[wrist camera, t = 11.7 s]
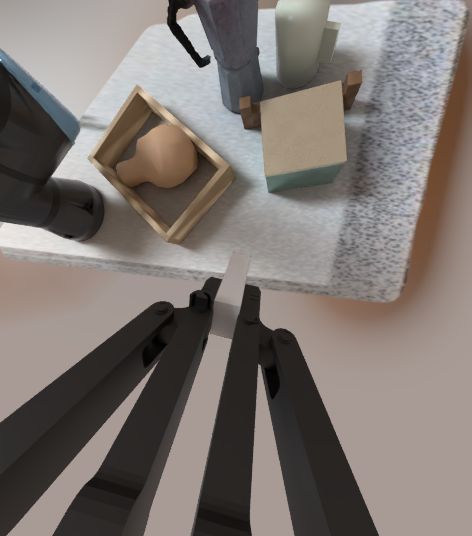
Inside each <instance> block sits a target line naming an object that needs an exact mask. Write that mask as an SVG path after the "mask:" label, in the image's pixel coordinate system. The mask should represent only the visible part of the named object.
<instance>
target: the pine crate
mask: <svg viewBox="0 0 472 536" xmlns="http://www.w3.org/2000/svg"><path fill="white" fill-rule="evenodd" d="M152 112H154V113H155V114H156V115H158V116H159V117H160V118H161V119H162V120H163V121H164V122H165V123H166V124H168V125H177V126H178V127H180V128H181V129H182V130H183V131H184V132H185V133H186V134H187V135H188V137H189V138H190V140H191V142H192V143H193V145H194V147H195V149H196V150H197V151H198V152H199V153H200V154H201V155H202V156H203V157H205V158H206V159H207V160H208V161H209V162H210V163H211V164H212V165H214V166H215V167H216V168H217V169H218V171H217V172H216V173H215V175H214V176H213V177H212V178H211V180H210V181H209V182H208V183H207V184H206V186H205V187H204V188H203V189H202V190H201V192H200V193H199V194H198V195H197V197H196V198H195V199H194V200H193V201H192V203H191V204H190V205H189V206H188V208H187V209H186V210H185V211H184V212H183V214H182V215H181V216H180V217H179V218H178V220H177V221H176V222H175V223H174V225H173V226H172V227H171V228H169V226H168V225H167V224H166V223H165V222H164V221H163V220H162V219H161V218H160V217H159V216H158V215H157V214H156V213H155V212H154V211H153V210H152V209H151V208H150V207H149V206H148V205H147V204H146V203H145V202H144V201H143V200H142V199H141V198H140V197H139V196H138V195H137V194H136V193H135V192H134V190H133V189H132V188H131V187H129V186H127V185H126V184H124V183H122V182H121V181H120V179H119V176H118V174H117V173H116V172H115V171H114V170H113V169H112V168H113V167H114V165H115V164H116V163H117V161H118V160H119V158H120V157H121V155H122V154H123V153H124V151H125V150H126V148H127V147H128V146H129V144H130V143H131V141H132V140H133V138H134V137H135V136H136V134H137V133H138V131H139V130H140V129H141V127H142V126H143V124H144V123H145V121H146V120H147V119H148V117H149V116H150V114H151V113H152ZM87 159H88V160H89V161H90V162H91V163H92V164H93V165H94V166H95V167H96V168H97V169H98V170H99V172H100V173H101V174H102V175H103V176H104V177H105V178H106V179H107V180H108V181H109V182H110V183H111V184H112V185H113V186H114V187H115V188H116V189H117V190H118V191H119V193H120V194H121V195H122V196H123V197H124V198H125V199H126V200H127V201H128V202H129V203H130V204H131V205H132V206H133V207H134V208H135V209H136V210H137V211H138V213H139V214H140V215H141V216H142V217H143V218H144V219H145V220H146V221H147V222H148V223H149V224H150V225H151V226H152V227H153V228H154V229H155V230H156V231H157V233H158V234H159V235H160V236H161V237H162V238H163V239H164V240H165V241H166V242H170V243H174V244H180V243H181V242H182V241H183V239H184V238H185V237H186V236H187V235H188V234H189V232H190V231H191V230H192V229H193V228H194V226H195V225H196V224H197V223H198V222H199V221H200V219H201V218H202V217H203V216H204V215H205V214H206V212H207V211H208V210H209V209H210V208H211V206H212V205H213V204H214V203H215V202H216V201H217V199H218V198H219V197H220V196H221V195H222V193H223V192H224V191H225V190H226V189H227V188H228V186H229V185H230V184H231V183H232V182H233V180H234V179H235V178H236V177H235V175H234V173H233V171H232V169H231V167H230V165H229V164H228V163H227V162H226V161H224V160H223V159H222V158H221V157H220V156H219V155H217V154H216V153H215V152H214V151H213V150H212V149H211V148H209V147H208V146H207V145H206V144H205V143H204V142H203V141H201V140H200V139H199V138H198V137H197V136H196V135H195V134H193V133H192V132H191V131H190V130H189V129H188V128H187V127H185V126H184V125H183V124H182V123H181V122H180V121H179V120H177V119H176V118H175V117H174V116H173V115H172V114H171V113H169V112H168V111H167V110H166V109H165V108H164V107H163V106H161V105H160V104H159V103H158V102H157V101H156V100H155V99H153V98H152V97H151V96H150V95H149V94H148V93H146V92H145V91H144V90H143V89H142V88H141V87H140V86H138V85H136V86H135V88H134V89H133V91H132V92H131V94H130V95H129V97H128V98H127V100H126V101H125V103H124V104H123V106H122V107H121V109H120V110H119V112H118V113H117V115H116V116H115V118H114V119H113V121H112V122H111V124H110V125H109V127H108V128H107V130H106V131H105V133H104V134H103V136H102V137H101V139H100V140H99V142H98V143H97V145H96V146H95V148H94V149H93V151H92V152H91V153H90V155H89V156H88V158H87Z"/></svg>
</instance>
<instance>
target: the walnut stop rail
mask: <svg viewBox="0 0 472 536" xmlns="http://www.w3.org/2000/svg"><path fill="white" fill-rule="evenodd" d="M361 83H362V70H360V71H355V72H351V73H348V74H347V77H346V80H345V83H343V84H342V96H343V110H349V109H350V108H351V106H352V104H353V102H354V99H355V97H356V95H357V93H358V90H359V88H360V86H361ZM239 105H240V113H241V117H242V120H243V124H244V128H245V129H249V128H254V127H259V126H261V111H260V102H257V103H251V98H250V96H247V97H242V98H239Z"/></svg>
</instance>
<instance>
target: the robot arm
mask: <svg viewBox="0 0 472 536" xmlns="http://www.w3.org/2000/svg"><path fill="white" fill-rule="evenodd" d="M79 132H80V123H79V121H78V120H77V118H76V117H75V116H74V115H73V114H72V113H71V112H70V111H69V110H68V109H67V108H66V107H65V106H64V105H63V104H62V103H61V102H59V101H58V100H57V99H56V98H55V97H54V96H53V95H52V94H51V93H50V92H49V91H48V90H46V89H45V88H44V87H43V86H42V85H41V84H40V83H39V82H38V81H37V80H35V79H34V78H33V77H32V76H31V75H30V74H29V73H28V72H27V71H26V70H24V69H23V68H22V67H21V66H20V65H19V64H18V63H17V62H16V61H14V60H13V59H12V58H11V57H10V56H9V55H7V54H6V53H5V52H4V51H3V50H1V49H0V222H6V223H13V224H19V225H25V226H32V227H38V228H42V229H45V230H47V231H49V232H51V233H54V234H56V235H58V236H61V237H63V238H65V239H69V240H76V241H83V240H87V239H89V238H90V237H92V236H93V235H94V234H95V233H96V232H97V230H98V229H99V227H100V225H101V223H102V219H103V212H104V209H103V202H102V199H101V196H100V194H99V193H98V191H97V190H96V189H95V188H94V187H92V186H91V185H88V184H86V183H84V182H81V181H77V180H70V179H62V178H53V177H51V176H52V174H53V173H54V172H55V170H56V169H57V167H58V166H59V164H60V163H61V161H62V160H63V159H64V157H65V156H66V154H67V153H68V151H69V150H70V148H71V147H72V146H73V145H74V144H75V142H74V141H75V139H76V137H77V136H78V134H79ZM250 257H251V256H250V255H246V254H241V253H237V252H233V255H232V257H231V260H230V262H229V265H228V267H227V270H226V272H225V275H224V277H223V279H219V278H214V277H210V278H209V279H207V280H206V282H205V284H204V286H203V288H202V289H201V290H197V291H194V292H192V293H191V294H190V301H189V307H186V308H174V307H173V305H172V304H171V303H170V302H166V301H160V302H157V303H154V304H152V305H151V306H150V307H148V308H147V309H146V310H144V311H143V312H142V313H141V314H140V315H138V316H137V317H136V318H135V319H133V320H132V321H130V322H129V323H128V324H126V325H125V326H124V327H123V328H121V329H120V330H119V331H117V332H116V333H115V334H114V335H112V336H111V337H110V338H108V339H107V340H106V341H105V342H103V343H102V344H101V345H99V346H98V347H97V348H96V349H95V350H93V351H92V352H91V353H89V354H88V355H87V356H85V357H84V358H83V359H82V360H80V361H79V362H78V363H76V364H75V365H74V366H73V367H71V368H70V369H69V370H68V371H66V372H65V373H64V374H62V375H61V376H60V377H59V378H57V379H56V380H54V381H53V382H52V383H51V384H49V385H48V386H47V387H45V388H44V389H43V390H42V391H41V392H39V393H38V394H37V395H35V396H34V397H33V398H31V399H30V400H29V401H28V402H26V403H25V404H24V405H22V406H21V407H20V408H19V409H17V410H16V411H15V412H14V413H12V414H11V415H10V416H8V417H7V418H6V419H4V420H3V421H2V422H0V536H6V535H7V534H8V533H9V532H10V531H11V530H12V529H13V528H14V527H15V526H16V524H17V523H18V522H19V521H20V520H21V519H22V518H23V517H24V515H25V514H26V513H27V512H28V511H29V509H30V508H31V507H32V506H33V505H34V504H35V503H36V501H37V500H38V499H39V498H40V497H41V496H42V495H43V493H44V492H45V491H46V490H47V489H48V488H49V487H50V485H51V484H52V483H53V482H54V481H55V480H56V478H57V477H58V476H59V475H60V474H61V473H62V472H63V470H64V469H65V468H66V467H67V466H68V465H69V463H70V462H71V461H72V460H73V459H74V458H75V457H76V455H77V454H78V453H79V452H80V451H81V449H82V448H83V447H84V446H85V445H86V444H87V443H88V442H89V440H90V439H91V438H92V437H93V436H94V435H95V433H96V432H97V431H98V430H99V429H100V428H101V427H102V425H103V424H104V423H105V422H106V421H107V419H108V418H109V417H110V416H111V415H112V414H113V413H114V411H115V410H116V409H117V408H118V407H119V406H120V405H121V403H122V402H123V401H124V400H125V399H126V398H127V397H128V395H129V394H130V393H131V392H132V391H133V390H134V388H135V387H136V386H137V385H138V384H139V383H140V382H141V380H142V379H143V378H144V377H145V376H146V374H147V373H148V372H149V371H150V370H151V369H152V368H153V366H154V365H155V364H156V363H157V362H158V361H159V362H158V364H157V365H156V367H155V369H154V371H153V373H152V374H151V376H150V378H149V380H148V382H147V383H146V386H145V387H144V389H143V391H142V393H141V394H140V396H139V398H138V400H137V402H136V403H135V405H134V407H133V409H132V411H131V412H130V414H129V416H128V418H127V420H126V422H125V423H124V425H123V427H122V429H121V431H120V433H119V434H118V436H117V438H116V440H115V441H114V443H113V445H112V447H111V449H110V451H109V452H108V454H107V456H106V458H105V460H104V461H103V463H102V465H101V467H100V468H99V470H98V472H97V473H96V474H95V475H94V477H93V478H92V479H91V480H89V481H88V482H87V483H86V484H85V485H84V486H83V488H82V489H81V490H80V491H79V493H78V494H77V495H76V497H75V498H74V500H73V502H72V503H71V505H70V506H69V508H68V510H67V512H66V513H65V515H64V516H63V518H62V520H61V522H60V523H59V525H58V527H57V529H56V530H55V532H54V534H53V535H52V536H143V535H144V532H145V528H146V525H147V521H148V517H149V512H150V509H151V506H152V502H153V499H154V496H155V494H156V491H157V488H158V485H159V482H160V479H161V476H162V473H163V470H164V467H165V464H166V461H167V458H168V456H169V452H170V450H171V447H172V444H173V441H174V438H175V435H176V432H177V429H178V426H179V423H180V420H181V417H182V414H183V411H184V409H185V405H186V403H187V400H188V397H189V394H190V391H191V388H192V385H193V382H194V379H195V376H196V373H197V370H198V367H199V365H200V362H201V359H202V356H203V353H204V350H205V347H206V344H207V340H208V335H209V332H210V334H214V335H217V336H221V337H225V338H230V339H232V344H231V348H230V352H229V358H228V362H227V367H226V372H225V377H224V381H223V386H222V391H221V396H220V400H219V405H218V410H217V414H216V419H215V424H214V429H213V433H212V438H211V443H210V448H209V452H208V457H207V462H206V466H205V471H204V476H203V481H202V485H201V490H200V495H199V499H198V504H197V509H196V514H195V519H194V523H193V528H192V532H191V536H252V533H251V526H250V498H251V481H252V463H253V446H254V428H255V411H256V393H257V392H256V391H257V376H258V364H259V365H261V370H262V375H263V380H264V385H265V390H266V395H267V400H268V405H269V410H270V415H271V420H272V425H273V430H274V435H275V440H276V445H277V450H278V455H279V460H280V465H281V470H282V475H283V480H284V485H285V490H286V495H287V500H288V505H289V510H290V515H291V520H292V525H293V530H294V535H295V536H379V535H378V532H377V530H376V528H375V525H374V523H373V520H372V518H371V516H370V513H369V511H368V509H367V506H366V504H365V502H364V499H363V497H362V494H361V492H360V490H359V487H358V485H357V482H356V480H355V478H354V475H353V473H352V470H351V468H350V466H349V463H348V461H347V459H346V456H345V454H344V451H343V449H342V447H341V445H340V442H339V440H338V437H337V435H336V432H335V430H334V428H333V425H332V423H331V421H330V418H329V416H328V413H327V411H326V409H325V406H324V404H323V402H322V399H321V397H320V394H319V392H318V390H317V387H316V385H315V383H314V380H313V378H312V375H311V373H310V371H309V368H308V366H307V363H306V361H305V359H304V356H303V354H302V352H301V349H300V347H299V344H298V342H297V340H296V338H295V336H294V335H293V334H292V333H291V332H290V331H288V330H286V329H282V328H280V329H276V330H274V331H273V330H271V329H269V328H267V327H265V326H264V325H263V324H262V322H261V321H260V318H259V311H260V296H261V291H260V289H259V287H256V286H252V285H247V284H245V282H246V277H247V272H248V267H249V262H250Z"/></svg>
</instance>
